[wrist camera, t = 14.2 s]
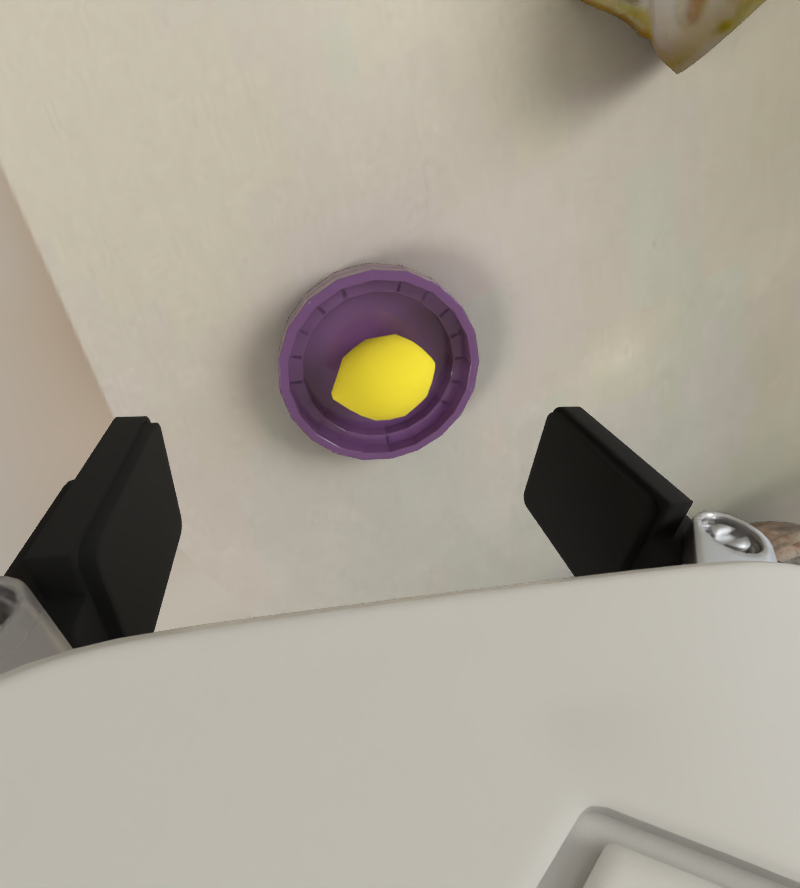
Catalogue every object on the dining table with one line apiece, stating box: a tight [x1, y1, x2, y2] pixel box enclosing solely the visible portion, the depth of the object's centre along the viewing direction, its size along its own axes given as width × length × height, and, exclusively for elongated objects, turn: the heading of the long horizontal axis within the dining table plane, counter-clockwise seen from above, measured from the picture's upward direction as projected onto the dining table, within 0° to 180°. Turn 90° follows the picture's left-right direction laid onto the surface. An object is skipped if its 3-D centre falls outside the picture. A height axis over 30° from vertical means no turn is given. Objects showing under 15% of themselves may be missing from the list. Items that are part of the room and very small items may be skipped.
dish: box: [278, 263, 479, 460], centre depth 30 cm, size 13×13×3 cm
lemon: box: [331, 334, 435, 420], centre depth 28 cm, size 7×5×5 cm
